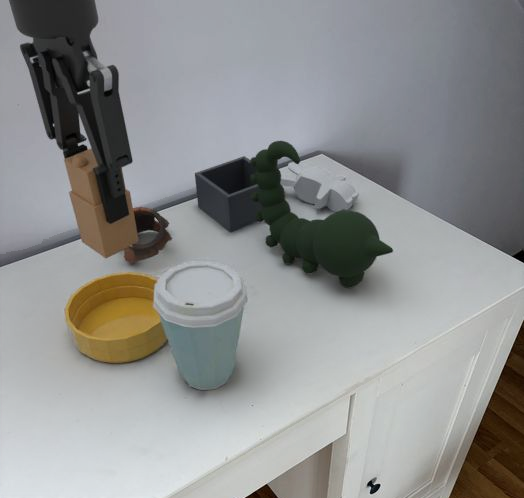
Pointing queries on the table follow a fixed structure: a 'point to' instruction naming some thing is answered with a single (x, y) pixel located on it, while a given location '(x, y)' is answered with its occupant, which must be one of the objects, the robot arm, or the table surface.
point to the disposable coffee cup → (202, 319)
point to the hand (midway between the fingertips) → (102, 208)
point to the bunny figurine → (320, 187)
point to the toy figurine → (313, 226)
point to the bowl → (116, 318)
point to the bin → (228, 193)
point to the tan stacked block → (97, 209)
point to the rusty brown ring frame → (145, 223)
